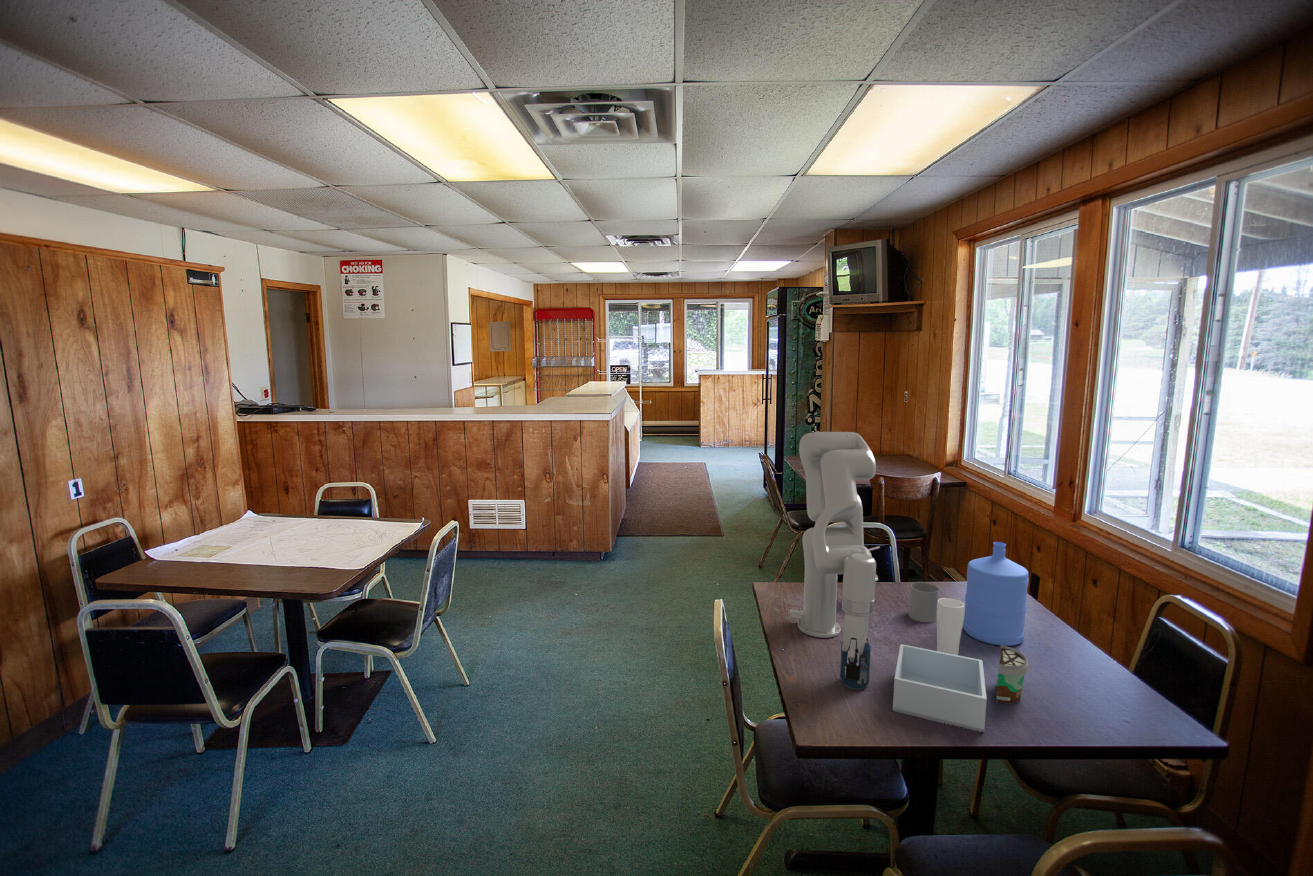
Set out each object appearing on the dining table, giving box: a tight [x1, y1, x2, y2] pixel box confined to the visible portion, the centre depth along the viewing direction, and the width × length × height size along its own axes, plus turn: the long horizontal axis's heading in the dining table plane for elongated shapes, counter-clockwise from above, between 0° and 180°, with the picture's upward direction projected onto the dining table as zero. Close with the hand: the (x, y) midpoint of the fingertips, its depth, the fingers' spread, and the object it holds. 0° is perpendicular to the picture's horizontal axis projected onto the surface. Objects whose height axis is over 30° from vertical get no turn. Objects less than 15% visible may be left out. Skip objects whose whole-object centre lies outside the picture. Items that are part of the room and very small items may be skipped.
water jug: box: [962, 541, 1029, 647], centre depth 173 cm, size 16×16×28 cm
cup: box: [908, 581, 940, 623], centre depth 186 cm, size 8×8×10 cm
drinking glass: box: [936, 597, 965, 655], centre depth 162 cm, size 7×7×15 cm
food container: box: [995, 645, 1030, 704], centre depth 142 cm, size 12×6×10 cm, turn 148°
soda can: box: [839, 637, 872, 691], centre depth 147 cm, size 7×7×12 cm
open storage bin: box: [892, 643, 987, 732], centre depth 140 cm, size 19×19×8 cm
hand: (854, 671), depth 148 cm, fingers closed on soda can, 7 cm apart
